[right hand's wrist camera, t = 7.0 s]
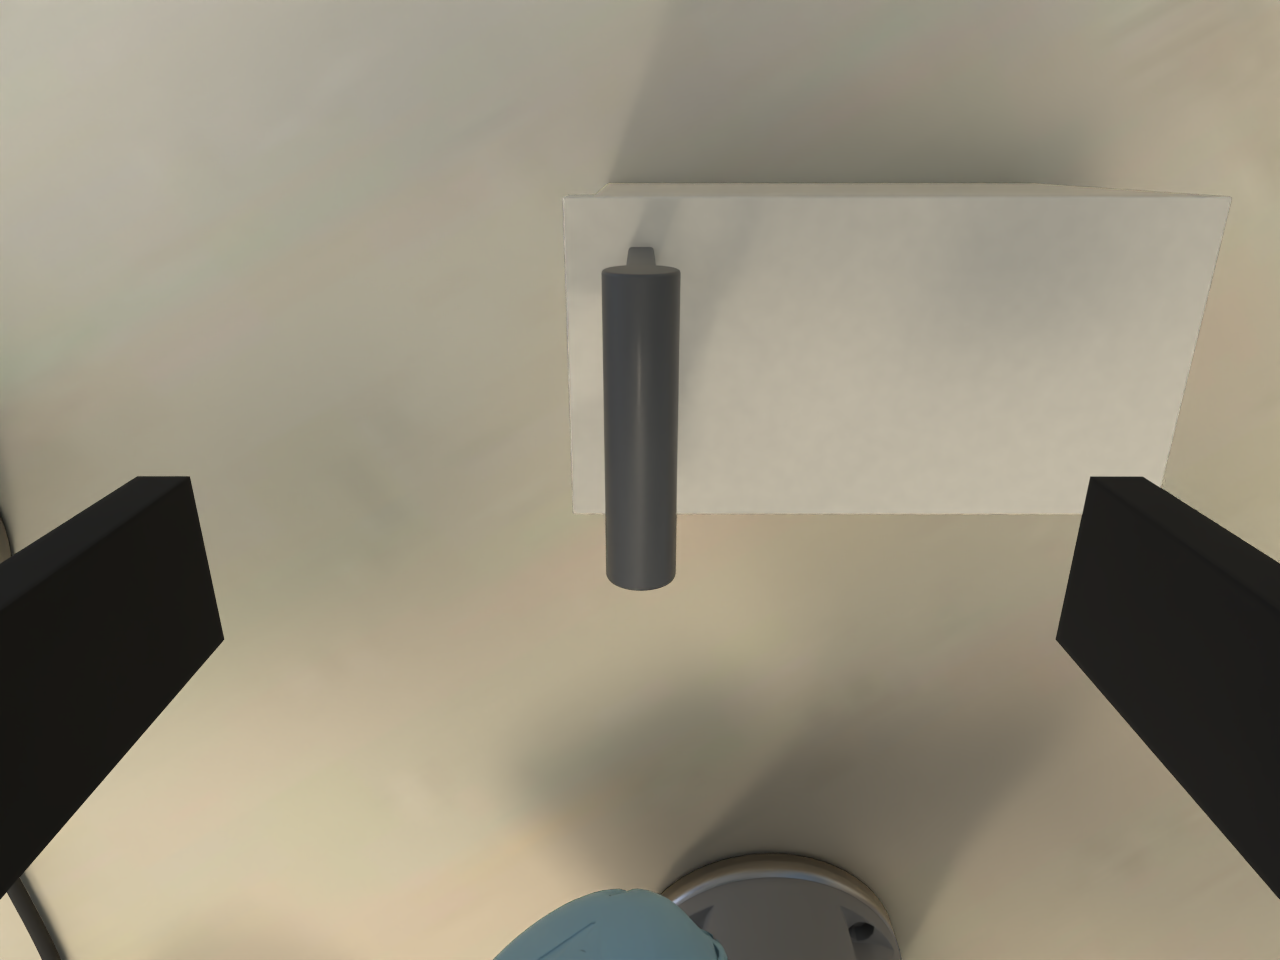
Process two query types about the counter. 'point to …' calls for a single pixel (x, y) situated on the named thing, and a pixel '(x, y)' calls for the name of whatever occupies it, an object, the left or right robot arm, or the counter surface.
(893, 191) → the chest
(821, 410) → the lid
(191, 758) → the counter surface
